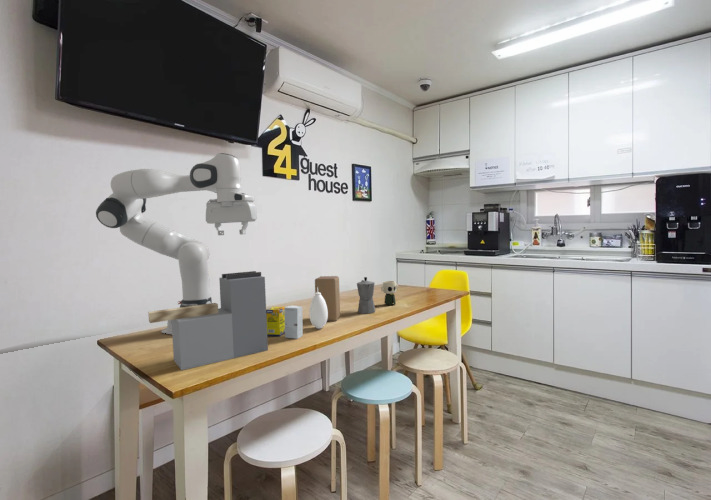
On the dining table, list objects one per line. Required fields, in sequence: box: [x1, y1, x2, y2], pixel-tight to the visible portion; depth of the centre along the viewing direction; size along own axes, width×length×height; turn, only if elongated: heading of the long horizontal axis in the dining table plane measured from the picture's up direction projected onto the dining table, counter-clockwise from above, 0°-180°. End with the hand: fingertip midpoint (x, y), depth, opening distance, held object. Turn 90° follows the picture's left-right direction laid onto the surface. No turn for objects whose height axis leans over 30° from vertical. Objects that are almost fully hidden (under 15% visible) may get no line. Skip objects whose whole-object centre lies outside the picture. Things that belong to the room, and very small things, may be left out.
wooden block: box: [314, 275, 341, 322], centre depth 170 cm, size 10×10×20 cm
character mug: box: [380, 280, 399, 306], centre depth 200 cm, size 11×7×13 cm, turn 117°
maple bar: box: [148, 302, 219, 324], centre depth 115 cm, size 20×3×3 cm, turn 126°
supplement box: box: [266, 306, 286, 337], centre depth 146 cm, size 6×6×11 cm
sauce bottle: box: [308, 287, 328, 330], centre depth 154 cm, size 8×8×18 cm
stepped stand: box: [171, 270, 269, 371], centre depth 122 cm, size 28×12×28 cm, turn 127°
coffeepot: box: [356, 276, 376, 315], centre depth 184 cm, size 15×9×18 cm, turn 12°
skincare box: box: [284, 305, 304, 340], centre depth 142 cm, size 6×4×12 cm
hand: (231, 234), depth 134 cm, fingers open, 8 cm apart
